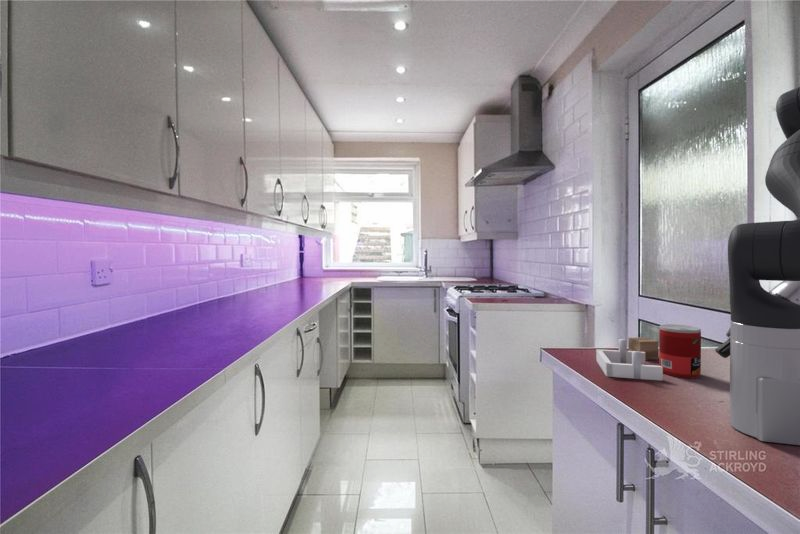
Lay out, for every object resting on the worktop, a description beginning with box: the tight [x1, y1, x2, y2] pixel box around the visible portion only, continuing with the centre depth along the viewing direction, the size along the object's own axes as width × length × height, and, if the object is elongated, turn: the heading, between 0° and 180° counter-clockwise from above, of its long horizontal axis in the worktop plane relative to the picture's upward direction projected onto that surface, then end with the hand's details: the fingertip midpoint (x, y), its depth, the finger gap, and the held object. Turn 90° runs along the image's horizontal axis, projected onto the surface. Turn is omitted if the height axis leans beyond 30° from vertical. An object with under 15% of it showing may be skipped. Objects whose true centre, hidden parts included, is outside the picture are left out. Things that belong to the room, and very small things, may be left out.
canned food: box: [658, 323, 702, 379], centre depth 91 cm, size 8×8×11 cm
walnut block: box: [627, 336, 659, 361], centre depth 106 cm, size 5×5×5 cm
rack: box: [595, 338, 664, 382], centre depth 95 cm, size 15×11×6 cm
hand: (719, 354), depth 89 cm, fingers closed
